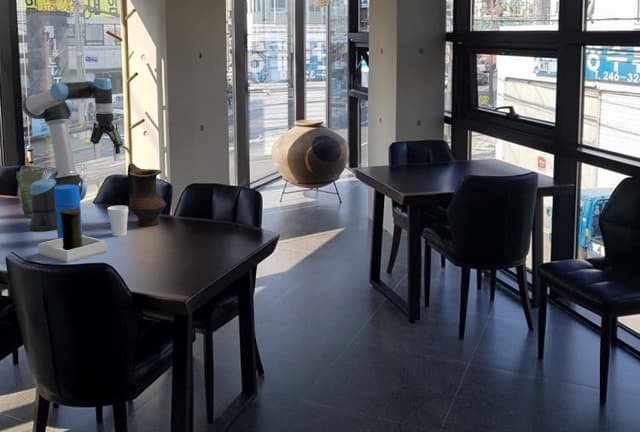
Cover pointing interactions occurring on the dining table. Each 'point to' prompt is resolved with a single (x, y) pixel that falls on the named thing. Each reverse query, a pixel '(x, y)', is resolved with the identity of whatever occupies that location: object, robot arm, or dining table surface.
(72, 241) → the container
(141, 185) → the jug
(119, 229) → the foam cup
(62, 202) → the thermos
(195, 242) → the dining table surface
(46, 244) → the white bin
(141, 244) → the dining table surface
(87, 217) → the dining table surface
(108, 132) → the robot arm
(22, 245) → the dining table surface
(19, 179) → the green ribbed vase
